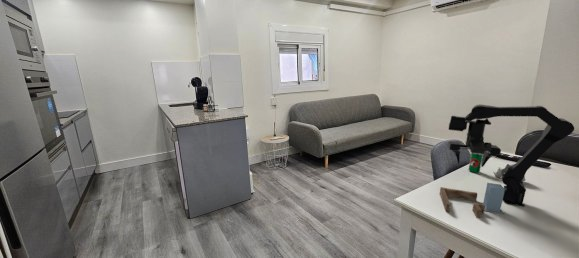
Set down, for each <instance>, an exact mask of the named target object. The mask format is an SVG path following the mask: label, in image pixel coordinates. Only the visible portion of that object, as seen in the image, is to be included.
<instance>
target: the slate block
mask: <svg viewBox="0 0 579 258" xmlns="http://www.w3.org/2000/svg"><path fill="white" fill-rule="evenodd" d="M504 191H505V189H504V186H502V184H499V183H493V182H487V183H486V189H485V193H484V197H483V202H482V203H483V204H484V205H485V208H486V209H487V210H493V211H498V212H500V209H501V208H502V204H503V196H504ZM501 210H502V209H501Z"/></svg>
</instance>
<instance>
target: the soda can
mask: <svg viewBox="0 0 579 258" xmlns="http://www.w3.org/2000/svg"><path fill="white" fill-rule="evenodd" d="M470 153H471V154H470V160H469V165H468V171H469V172H471V173H472V174H473V173H474V174H479V173H480V172H481V168H482V167H481V162H482V158H483V154H480V153H472V152H470Z"/></svg>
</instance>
